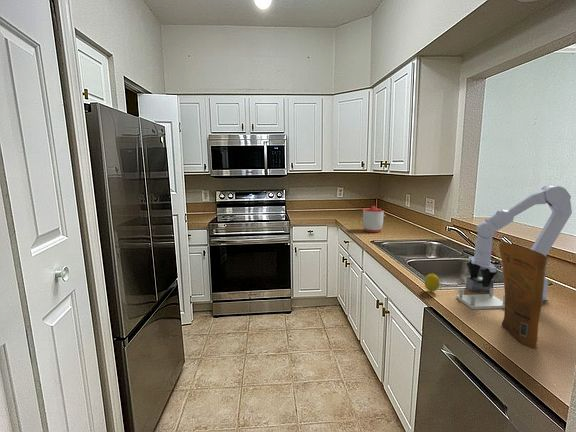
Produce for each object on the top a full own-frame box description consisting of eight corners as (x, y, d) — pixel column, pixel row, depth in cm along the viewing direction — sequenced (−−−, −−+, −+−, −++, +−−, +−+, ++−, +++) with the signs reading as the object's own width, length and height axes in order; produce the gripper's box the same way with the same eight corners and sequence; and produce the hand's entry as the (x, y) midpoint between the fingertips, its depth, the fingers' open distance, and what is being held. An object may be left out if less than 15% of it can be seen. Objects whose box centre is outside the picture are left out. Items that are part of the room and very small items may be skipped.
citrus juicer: (388, 233, 237) (389, 206, 234) (365, 233, 237) (366, 207, 233) (381, 229, 253) (382, 204, 249) (359, 229, 252) (360, 204, 249)
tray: (490, 296, 126) (491, 287, 125) (509, 308, 116) (510, 297, 115) (456, 297, 125) (457, 287, 124) (472, 309, 115) (473, 298, 115)
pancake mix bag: (522, 351, 90) (535, 254, 85) (488, 318, 108) (497, 238, 104) (548, 352, 89) (562, 255, 84) (509, 319, 108) (519, 238, 103)
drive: (486, 287, 135) (487, 276, 134) (492, 291, 131) (493, 279, 130) (465, 288, 135) (466, 276, 134) (471, 292, 131) (472, 280, 130)
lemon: (426, 288, 134) (427, 270, 133) (440, 291, 131) (441, 272, 130) (422, 292, 130) (423, 273, 129) (436, 295, 127) (438, 276, 125)
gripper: (462, 246, 137) (459, 276, 139) (485, 256, 123) (481, 290, 125) (478, 246, 137) (475, 276, 140) (503, 256, 123) (498, 289, 125)
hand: (479, 283), depth 132 cm, fingers open, 7 cm apart
